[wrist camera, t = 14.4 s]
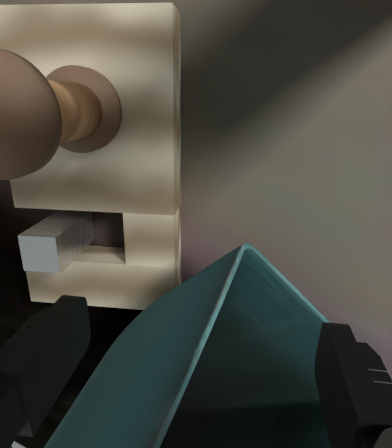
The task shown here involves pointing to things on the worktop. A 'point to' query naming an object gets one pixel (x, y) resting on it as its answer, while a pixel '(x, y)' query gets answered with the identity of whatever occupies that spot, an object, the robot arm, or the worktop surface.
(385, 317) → the worktop surface
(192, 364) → the flower pot
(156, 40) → the notched board
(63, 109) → the bobbin
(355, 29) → the worktop surface
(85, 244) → the tab peg
